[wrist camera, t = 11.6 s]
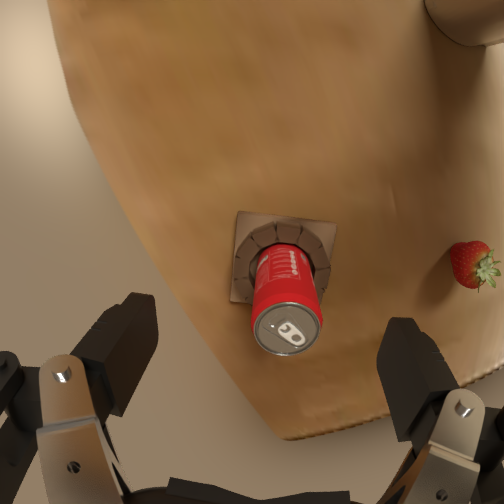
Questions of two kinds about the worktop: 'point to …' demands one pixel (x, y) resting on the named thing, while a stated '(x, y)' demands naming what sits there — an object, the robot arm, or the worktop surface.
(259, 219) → the holder
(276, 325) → the beverage can
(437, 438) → the robot arm
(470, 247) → the fruit
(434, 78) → the worktop surface
